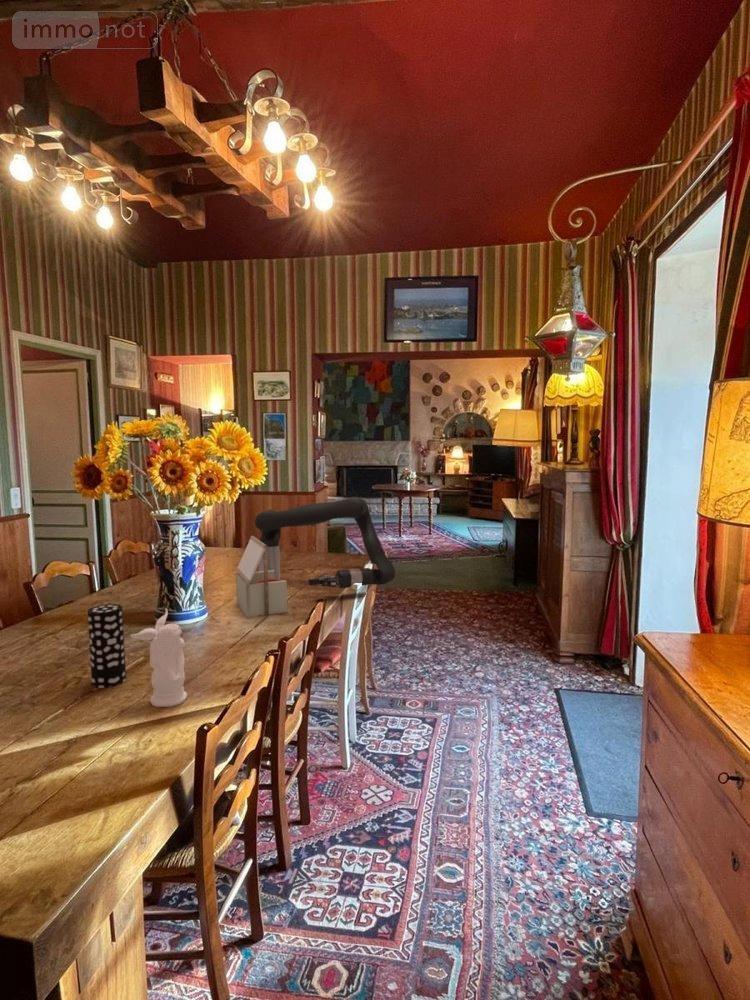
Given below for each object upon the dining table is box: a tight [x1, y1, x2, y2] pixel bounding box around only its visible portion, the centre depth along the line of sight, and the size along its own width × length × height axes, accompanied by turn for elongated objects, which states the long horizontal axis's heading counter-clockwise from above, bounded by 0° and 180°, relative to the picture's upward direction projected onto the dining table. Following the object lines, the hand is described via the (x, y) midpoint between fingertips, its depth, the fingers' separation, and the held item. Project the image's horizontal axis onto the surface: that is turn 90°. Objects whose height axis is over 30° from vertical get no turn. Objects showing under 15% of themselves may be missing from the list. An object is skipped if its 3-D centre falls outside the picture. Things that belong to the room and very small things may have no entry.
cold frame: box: [235, 570, 288, 618], centre depth 216 cm, size 20×15×12 cm
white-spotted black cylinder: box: [87, 603, 127, 689], centre depth 149 cm, size 8×8×20 cm
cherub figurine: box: [130, 607, 188, 708], centre depth 137 cm, size 12×12×22 cm
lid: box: [235, 535, 267, 584], centre depth 213 cm, size 23×15×1 cm
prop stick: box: [263, 553, 270, 617], centre depth 205 cm, size 1×1×24 cm
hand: (309, 582), depth 224 cm, fingers closed
